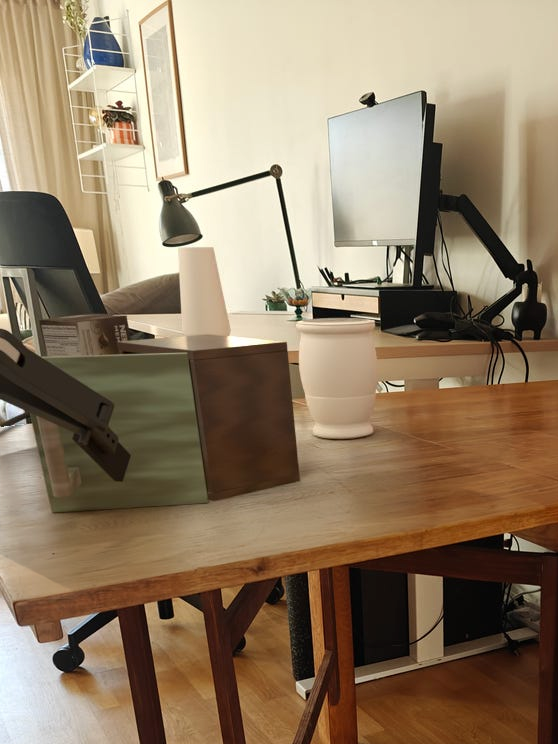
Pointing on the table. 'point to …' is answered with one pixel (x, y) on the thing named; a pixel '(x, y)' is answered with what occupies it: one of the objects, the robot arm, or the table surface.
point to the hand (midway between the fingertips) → (54, 465)
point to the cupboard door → (129, 436)
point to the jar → (339, 375)
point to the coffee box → (84, 334)
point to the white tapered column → (201, 293)
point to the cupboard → (237, 409)
